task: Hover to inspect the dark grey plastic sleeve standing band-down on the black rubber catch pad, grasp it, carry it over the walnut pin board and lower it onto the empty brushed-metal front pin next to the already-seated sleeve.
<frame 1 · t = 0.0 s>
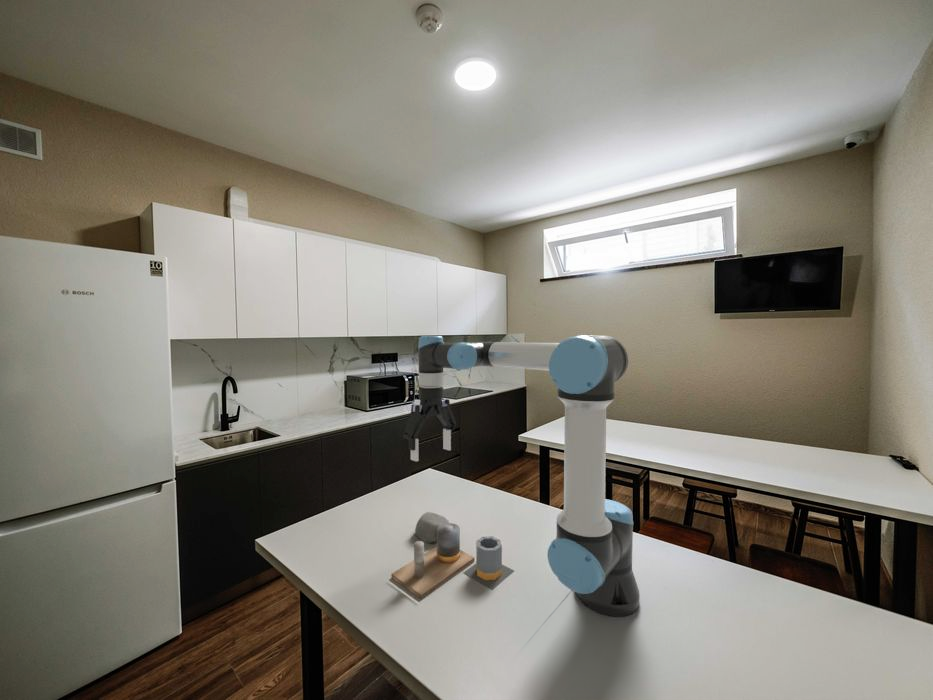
hand: (431, 454, 113), 28 cm above the table, fingers open, 13 cm apart
stone: (434, 538, 119), on the table, touching pin board
catch pad: (488, 573, 100), on the table
sleeve: (488, 571, 100), resting on catch pad
pin board: (434, 570, 101), on the table
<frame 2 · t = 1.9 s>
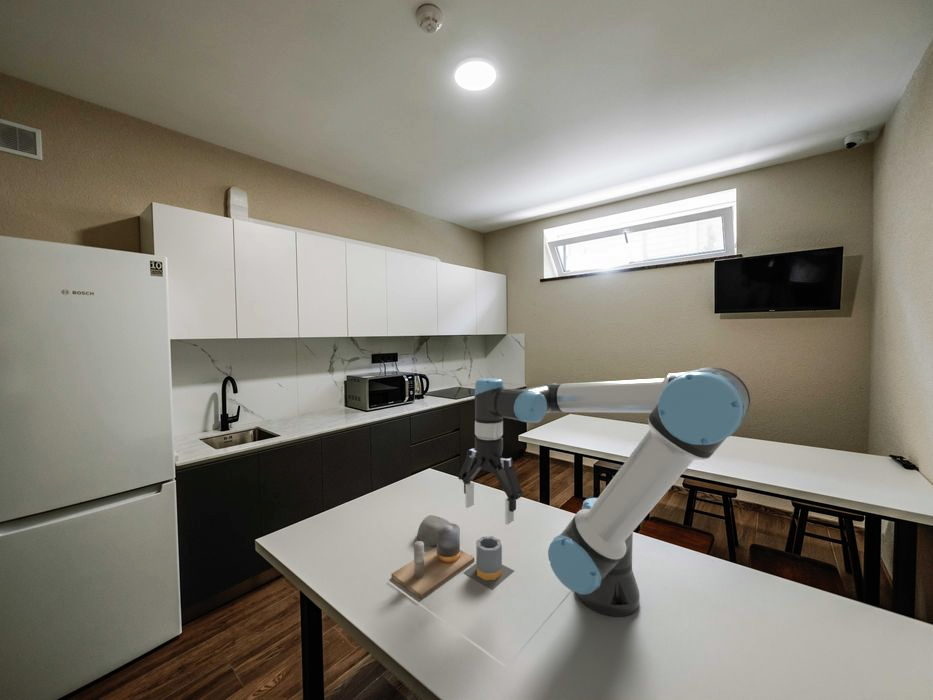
hand: (488, 513, 99), 17 cm above the table, fingers open, 13 cm apart
stone: (436, 541, 117), on the table
everything else where it was.
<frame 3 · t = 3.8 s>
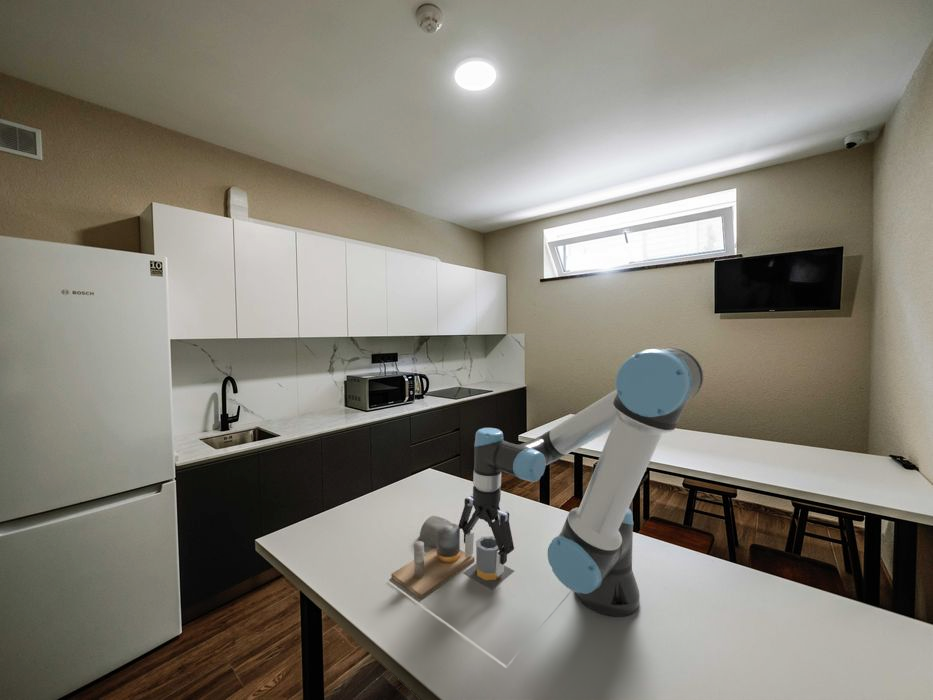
hand: (483, 564, 101), 2 cm above the table, fingers open, 10 cm apart
sleeve: (488, 571, 100), resting on catch pad, touching gripper
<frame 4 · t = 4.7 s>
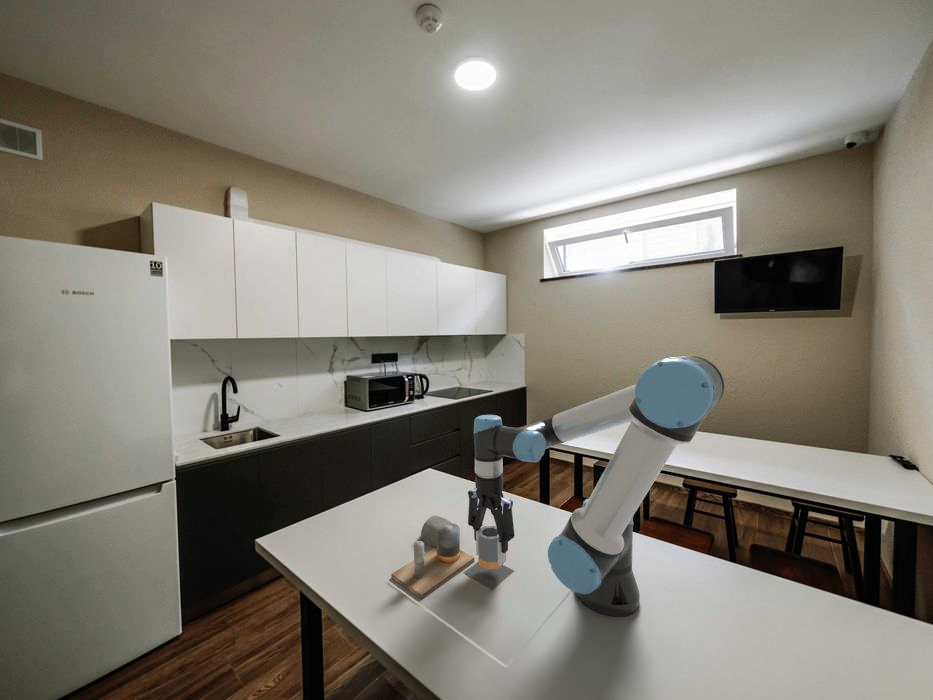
hand: (491, 557, 99), 5 cm above the table, fingers closed on sleeve, 7 cm apart
sleeve: (491, 561, 99), point 4 cm above the table, touching gripper
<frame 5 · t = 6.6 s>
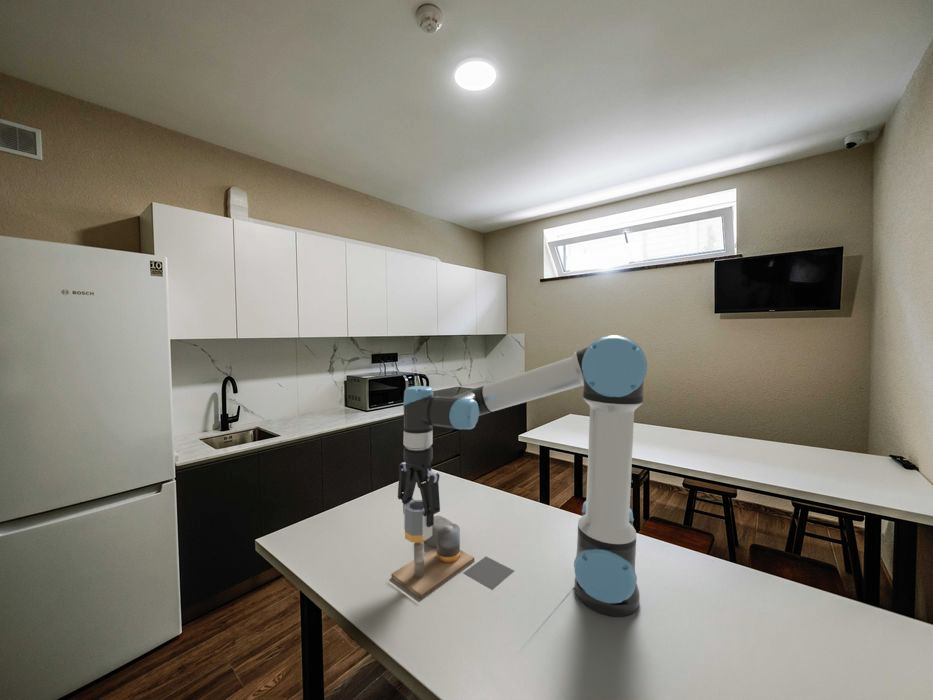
hand: (418, 532, 97), 13 cm above the table, fingers closed on sleeve, 7 cm apart
sleeve: (418, 535, 97), point 12 cm above the table, touching gripper
when the fingers open (3 cm above the table, at t = 8.3 s): sleeve stays where it is, resting on pin board.
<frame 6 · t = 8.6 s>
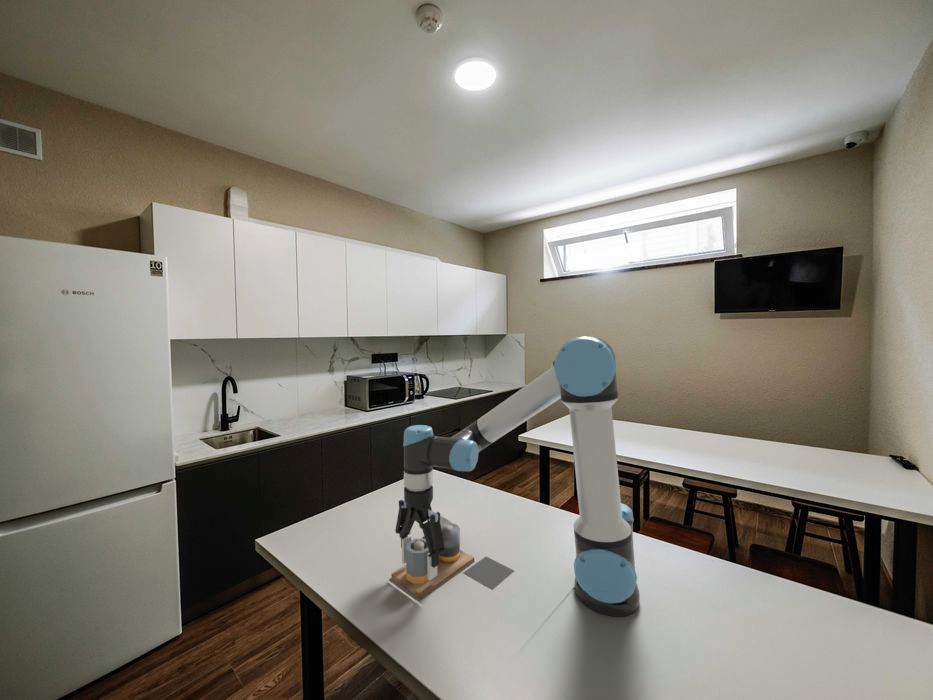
hand: (419, 568, 97), 3 cm above the table, fingers open, 9 cm apart
stone: (441, 543, 116), on the table, touching pin board
sleeve: (419, 575, 97), point 1 cm above the table, touching pin board
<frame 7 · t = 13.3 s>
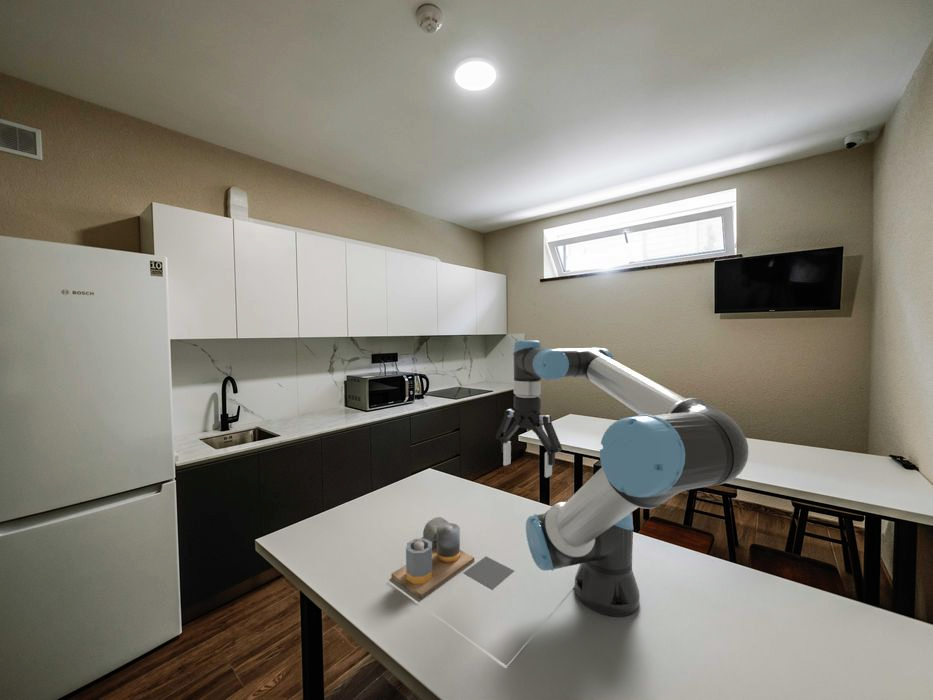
hand: (526, 470, 104), 27 cm above the table, fingers open, 13 cm apart
at the end: sleeve 0.0 cm from the target spot on the pin board, point 1.5 cm above the pin board's base; sleeve tilted 0°; the gripper is holding nothing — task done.
